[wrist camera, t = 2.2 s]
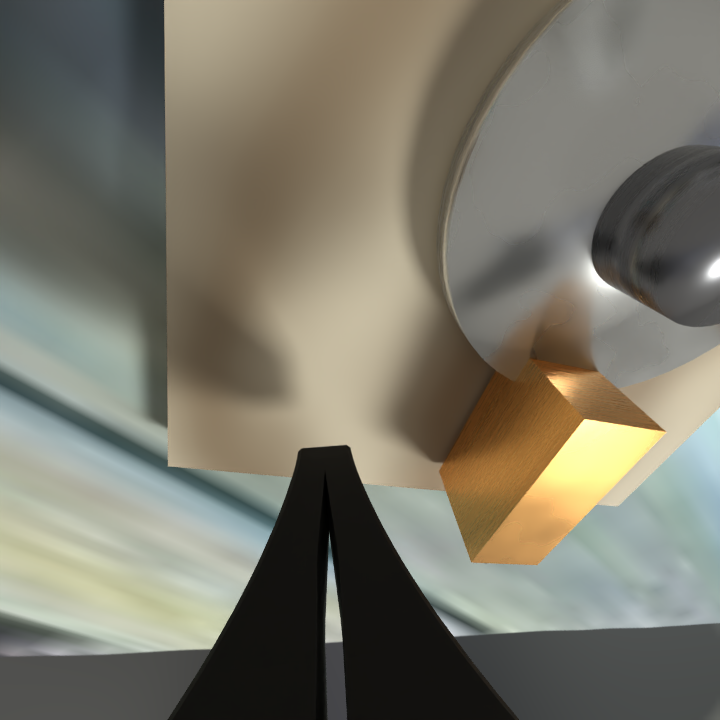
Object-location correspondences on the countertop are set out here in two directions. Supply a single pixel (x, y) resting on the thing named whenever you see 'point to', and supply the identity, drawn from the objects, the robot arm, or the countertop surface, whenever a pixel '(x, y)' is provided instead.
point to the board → (336, 236)
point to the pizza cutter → (579, 258)
